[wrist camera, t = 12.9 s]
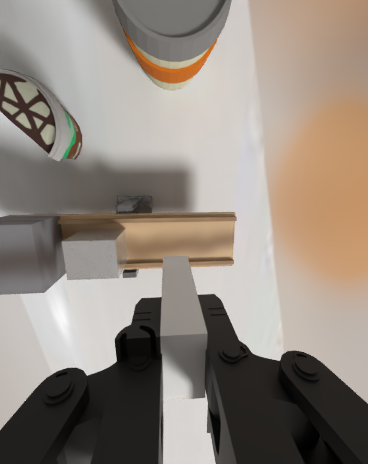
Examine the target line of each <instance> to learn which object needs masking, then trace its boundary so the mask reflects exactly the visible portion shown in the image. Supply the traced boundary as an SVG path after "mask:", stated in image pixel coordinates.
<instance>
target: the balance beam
mask: <svg viewBox="0 0 368 464" xmlns="http://www.w3.org/2000/svg"><path fill="white" fill-rule="evenodd" d="M235 221H236V217H235V213H234V212H211V213H138V214H132V212H123V213H121V214H65V215H9V216H5V217H0V294H25V293H44V292H46V291H47V290H48V289H49V288H50V287H51V286H52V285H53V284H54V283H55V282H57V281H58V280H59V279H60V278H61V277H62V276H63V275H64V274H65V273H66V267H65V261H64V255H63V248H62V242H61V241H63V240H65V239H67V238H68V237H70V236H72V235H74V234H75V233H77V232H79V231H81V230H82V229H122V228H126V239H127V252H128V261H127V263H126V265H125V267H124V269H127V270H132V269H149V268H163V256H187V257H188V260H189V264H190V267H209V266H232V264H234V260H233V244H234V228H235Z"/></svg>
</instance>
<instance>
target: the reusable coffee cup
mask: <svg viewBox="0 0 368 464" xmlns="http://www.w3.org/2000/svg"><path fill="white" fill-rule="evenodd" d="M231 1H232V0H113V4H114V7H115V11H116V14H117V16H118V18H119V21H120V23H121V25H122V27H123V30H124V33H125V35H126V37H127V40H128V42H129V44H130V46H131V48H132V50H133V52H134V54H135V56H136V58H137V60H138V62H139V63H140V65H141V66H142V68H143V69H144V70H145V71H146V73H147V75H148V76H149V78H150V79H151V80H152V82H153V83H154V84H156V85H157V86H158V87H160V88H162V89H165V90H178V89H181V88H183V87H185V86H186V85H187V84H188V83H189V82H190V81H191V80H192V78H193V77H194V75H196V74H197V73H198V72H199V70H200V69H201V68H202V66H203V65H204V63H205V61H206V59H207V58H208V56H209V54H210V53H211V51H212V49H213V47H214V45H215V43H216V41H217V38H218V37H219V35H220V33H221V31H222V29H223V28H224V25H225V23H226V20H227V17H228V14H229V9H230V5H231Z"/></svg>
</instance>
